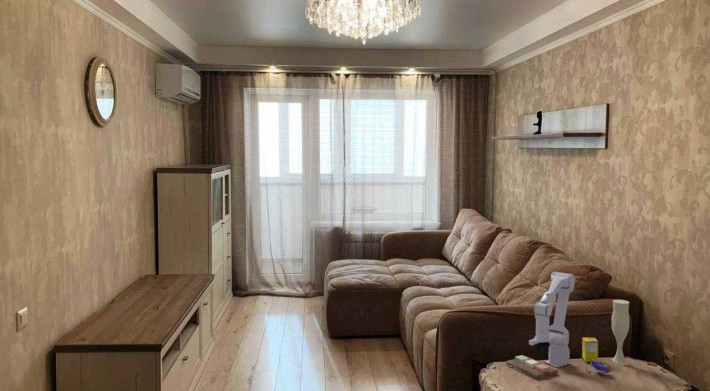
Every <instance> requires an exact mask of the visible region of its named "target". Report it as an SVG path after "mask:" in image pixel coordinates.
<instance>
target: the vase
mask: <svg viewBox="0 0 710 391" xmlns="http://www.w3.org/2000/svg"><path fill="white" fill-rule="evenodd" d="M629 307H630V301H628V300H626V299H625V300H624V299H613V300H612V313H611V330H612V333H613V336H614V337H615V340H616V345H617V348H616V353H615V355H614V357H613V358H612V359H611V360H613V362H616V363H626V362H628V361H627V360H626V358H625V356H624V352H623V345H624V341H625V339H626V338H627V335H628V333H629V329H630V314H629V310H630V308H629Z"/></svg>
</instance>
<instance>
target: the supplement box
mask: <svg viewBox="0 0 710 391" xmlns="http://www.w3.org/2000/svg"><path fill="white" fill-rule="evenodd" d="M581 344H582V345H581V346H582V347H581V350H582V352H581V357H582V358H581V359H582V360H583V362H584V361H585V362H591V360H592V359H593V360H595V361H599V341H598V340H597V339H596V337H584V336H583V337H582V343H581ZM585 362H584V363H585Z"/></svg>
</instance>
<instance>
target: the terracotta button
mask: <svg viewBox="0 0 710 391" xmlns="http://www.w3.org/2000/svg"><path fill="white" fill-rule="evenodd" d="M543 364H544V363H543ZM543 364H540V365H535V370H536V371H538V372H540V373H545V372H549V367H548V366H549V365H547V366H545V365H546V364H545V365H543Z"/></svg>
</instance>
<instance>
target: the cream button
mask: <svg viewBox="0 0 710 391" xmlns="http://www.w3.org/2000/svg"><path fill="white" fill-rule="evenodd" d="M534 360H535V359H534ZM534 360H527V361H525V366H527V367H530V368H535V365H539V362H540V361H538V362H536V361H537V360H536V361H534Z"/></svg>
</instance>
